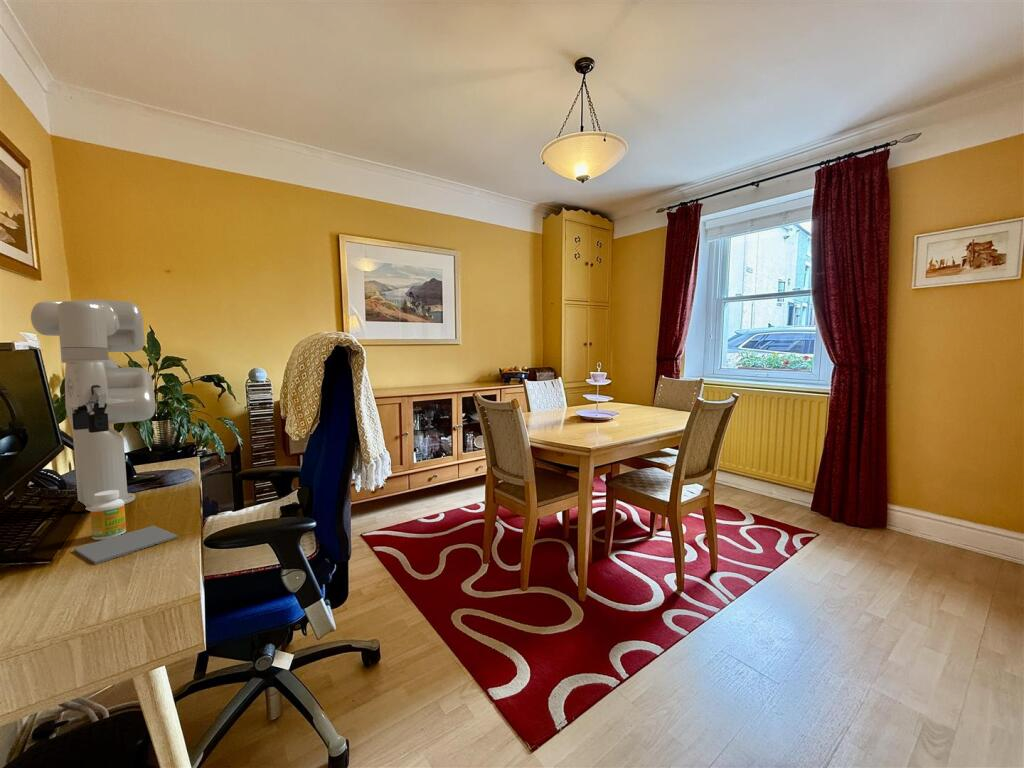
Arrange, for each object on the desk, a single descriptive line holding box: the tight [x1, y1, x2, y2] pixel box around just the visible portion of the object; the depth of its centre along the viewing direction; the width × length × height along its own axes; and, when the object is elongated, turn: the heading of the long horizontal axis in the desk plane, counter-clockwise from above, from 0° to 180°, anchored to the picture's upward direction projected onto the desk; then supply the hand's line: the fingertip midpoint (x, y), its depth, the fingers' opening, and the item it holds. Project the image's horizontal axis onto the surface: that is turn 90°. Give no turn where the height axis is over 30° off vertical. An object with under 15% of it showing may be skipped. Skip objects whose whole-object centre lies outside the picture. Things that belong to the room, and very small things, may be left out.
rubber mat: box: [73, 525, 179, 565], centre depth 86 cm, size 12×13×1 cm
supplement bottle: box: [89, 490, 127, 541], centre depth 90 cm, size 5×5×10 cm
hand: (90, 430), depth 94 cm, fingers open, 9 cm apart
